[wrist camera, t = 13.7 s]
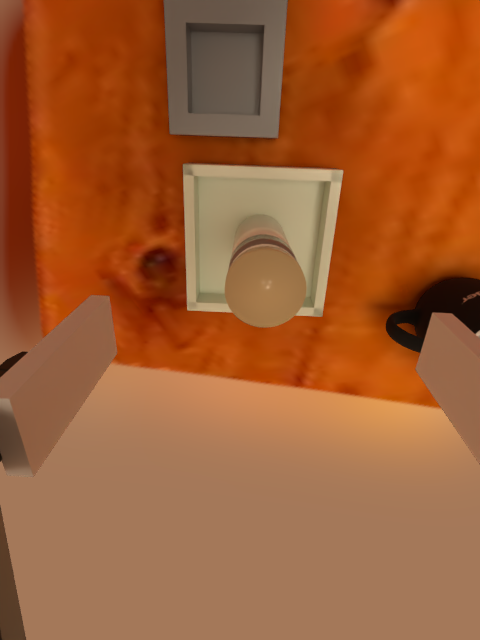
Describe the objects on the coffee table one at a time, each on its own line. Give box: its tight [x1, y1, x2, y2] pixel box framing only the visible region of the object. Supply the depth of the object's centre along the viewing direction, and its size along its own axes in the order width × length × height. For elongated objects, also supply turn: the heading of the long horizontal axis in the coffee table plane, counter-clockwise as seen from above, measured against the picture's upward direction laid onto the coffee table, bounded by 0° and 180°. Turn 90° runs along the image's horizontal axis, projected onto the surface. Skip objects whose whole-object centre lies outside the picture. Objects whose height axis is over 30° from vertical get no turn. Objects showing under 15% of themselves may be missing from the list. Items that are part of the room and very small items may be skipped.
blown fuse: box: [225, 214, 307, 327], centre depth 26 cm, size 5×5×13 cm
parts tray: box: [183, 163, 343, 317], centre depth 31 cm, size 12×12×3 cm
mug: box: [386, 278, 480, 353], centre depth 30 cm, size 12×9×10 cm
